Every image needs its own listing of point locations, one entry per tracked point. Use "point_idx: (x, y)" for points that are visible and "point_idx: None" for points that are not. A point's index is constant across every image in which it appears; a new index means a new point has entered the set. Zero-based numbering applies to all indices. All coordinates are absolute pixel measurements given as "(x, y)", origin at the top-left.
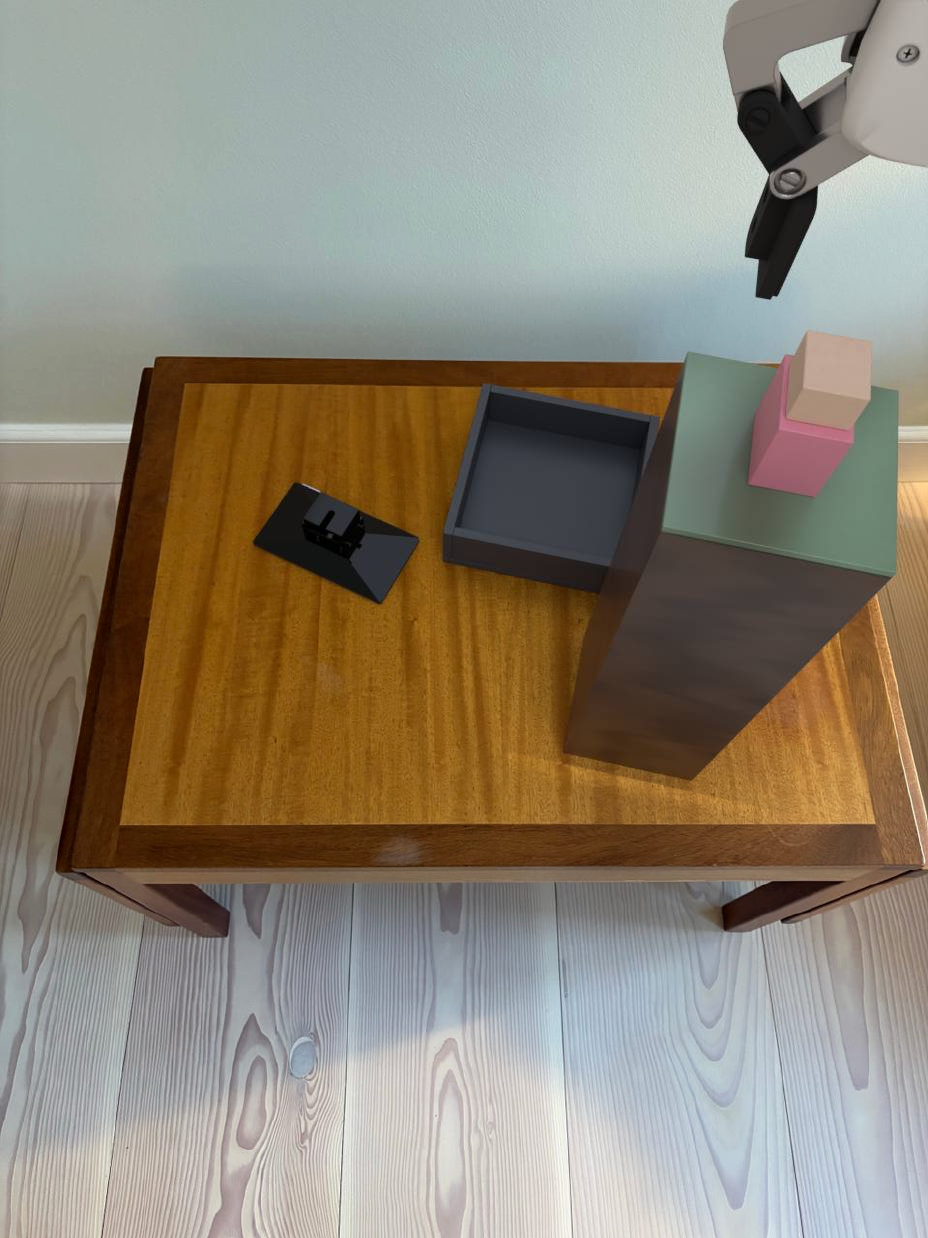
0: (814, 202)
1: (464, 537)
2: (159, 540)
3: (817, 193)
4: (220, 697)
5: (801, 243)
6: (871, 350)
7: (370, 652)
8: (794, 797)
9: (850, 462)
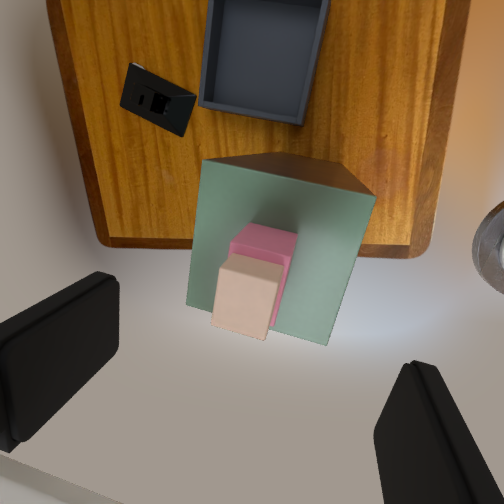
0: (15, 437)
1: (208, 107)
2: (81, 107)
3: (16, 424)
4: (128, 186)
5: (62, 406)
6: (275, 293)
7: (182, 163)
8: (372, 232)
9: (314, 266)
